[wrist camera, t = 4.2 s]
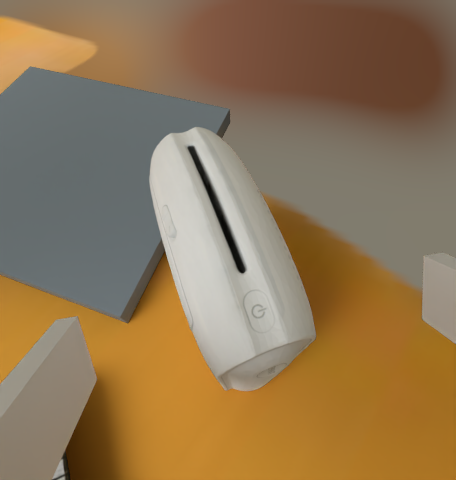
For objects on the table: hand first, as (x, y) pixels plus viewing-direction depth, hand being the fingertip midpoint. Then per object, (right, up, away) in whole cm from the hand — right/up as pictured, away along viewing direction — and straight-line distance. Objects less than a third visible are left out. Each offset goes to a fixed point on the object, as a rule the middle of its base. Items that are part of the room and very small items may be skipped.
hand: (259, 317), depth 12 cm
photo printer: (-1, -2, +9) cm, 9 cm away
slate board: (-15, +9, +15) cm, 23 cm away
